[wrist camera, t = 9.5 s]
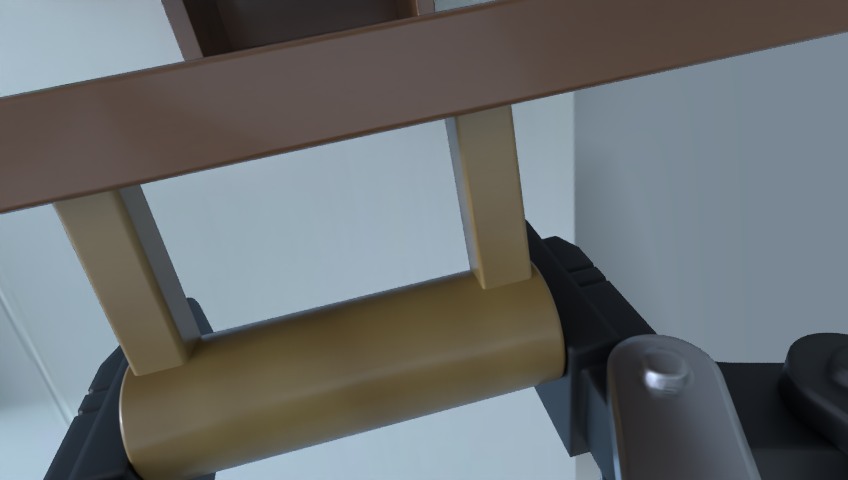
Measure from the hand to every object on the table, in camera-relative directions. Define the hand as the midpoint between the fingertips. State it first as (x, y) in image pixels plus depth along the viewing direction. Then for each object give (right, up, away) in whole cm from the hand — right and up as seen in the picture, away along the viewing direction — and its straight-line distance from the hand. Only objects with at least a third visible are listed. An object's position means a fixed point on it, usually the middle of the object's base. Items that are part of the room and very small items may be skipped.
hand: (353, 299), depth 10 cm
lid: (-1, +5, +3) cm, 6 cm away
